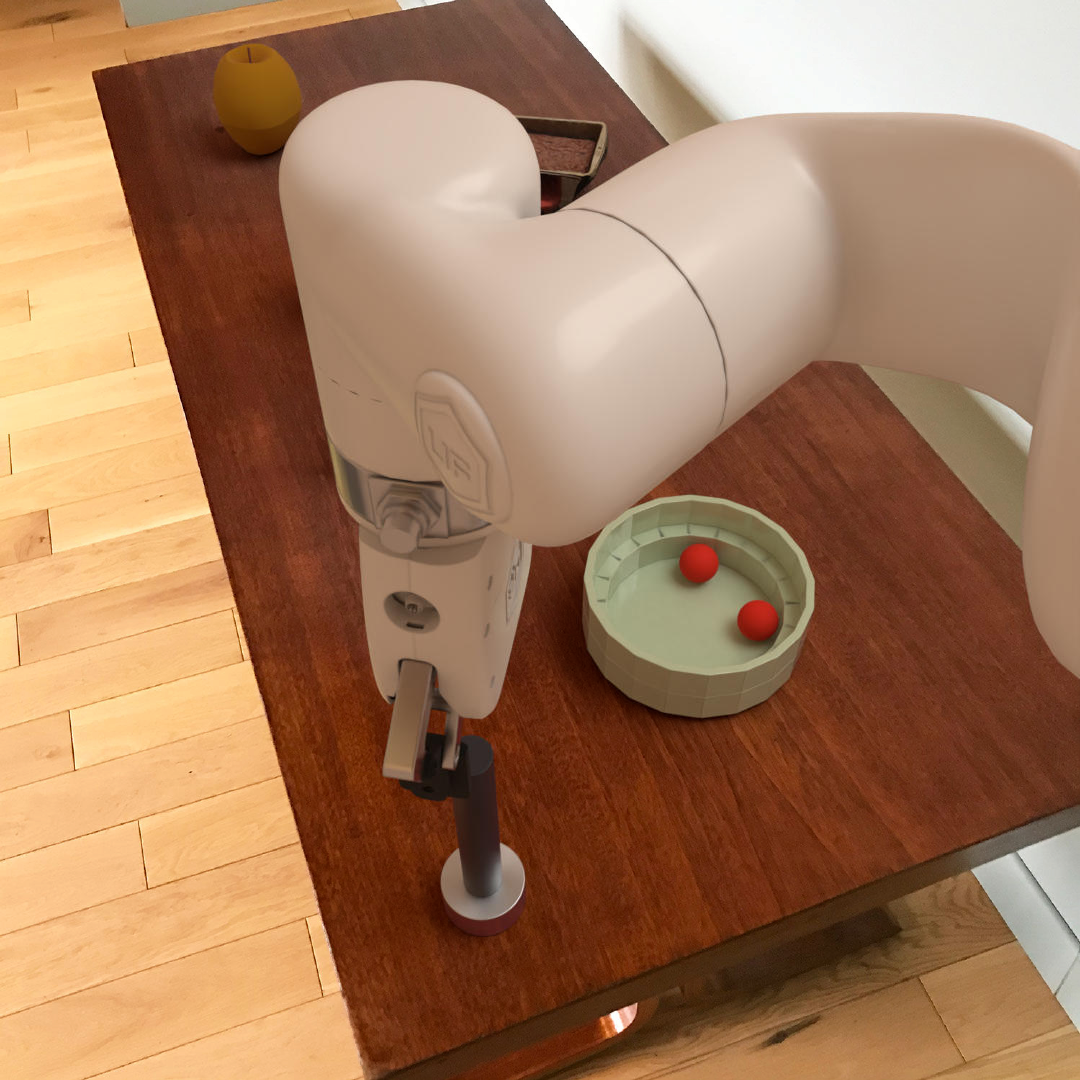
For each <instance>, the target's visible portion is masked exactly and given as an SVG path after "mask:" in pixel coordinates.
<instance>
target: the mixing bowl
mask: <svg viewBox="0 0 1080 1080" xmlns="http://www.w3.org/2000/svg"><path fill="white" fill-rule="evenodd" d="M693 544H705V545H707V546H709V547H711V548H712V549H713V550H714V551H715V553H716V554H717V557H718V560H719V566H718V570H717V572H716V574H715V575H714V577H713V578H711V579H710V580H708V581H706V582H703V583H695V582H692V581H690V580H688V579H687V578H685V577H684V576H683V574H682V573H681V570H680V567H679V560H680V556H681V554H682V552H683V551H684V550H685V549H686V548H687V547H689V546H691V545H693ZM582 585H583V587H582V609H581V610H582V613H581V614H582V615H581V625H582V630H583V635H584V639H585V645H586V650H587V651H588V653H589V654H590V656H591V657H592V659H593V661H594V662H595V664H596V665H597V667H598V669H599V671H600V672H601V674H602V675H603V676H604V678H605V679H606V680H607V681H609V682H610V683H611V684H612V685H614V686H615V687H616V688H617V689H618V690H620V691H621V692H622V693H623V694H624V695H625V696H627V697H628V698H629V699H631V700H633V701H636V702H638V703H640V704H643V705H645V706H647V707H649V708H652V709H654V710H656V711H658V712H661V713H664V714H668V715H669V714H670V715H677V716H683V717H691V718H698V719H705V718H712V717H713V718H714V717H720V716H727V715H736V714H739V713H740V712H743V711H745V710H747V709H749V708H752V707H754V706H756V705H758V704H761V703H763V702H765V701H767V700H769V698H770V697H772V695H773V694H775V693H776V692H777V691H778V690H779V689H780V688H781V687H782V686H783V685H784V684H785V683H786V682H787V681H789V679H790V678H791V675H792V674H793V671H794V670H795V667H796V665H797V662H798V660H799V658H800V656H801V654H802V650H803V647H804V644H805V640H806V637H807V634H808V632H809V628H810V624H811V620H812V618H813V614H814V610H815V593H816V591H815V589H816V588H815V585H816V581H815V577H814V575H813V572H812V570H811V567H810V564H809V562H808V559H807V557H806V555H805V553H804V551H803V550H802V549H801V547H800V546H799V545H798V544H797V543H796V542H795V540H794V539H793V538H792V537H791V535H790V534H789V533H788V532H787V531H786V529H784V528H783V527H782V526H780V525H779V523H777V522H775V521H773V520H772V519H771V518H768V516H766V515H764V514H763V513H761V512H760V511H758V510H756V509H754V508H752V507H748V506H747V505H746V506H745V505H743V504H741V503H737V502H735V501H733V500H729V499H726V498H720V497H713V496H706V495H705V496H704V495H697V494H685V495H674V496H664V497H658V498H654V499H652V500H649V501H647V502H645V503H641V504H639V505H636V506H632V507H630V508H629V509H628V510H627V511H625V512H624V513H623V514H622V515H621V516H619V517H618V518H617V519H616V520H614V521H613V522H611V523H610V524H608V525H607V526H605V527H604V528H602V529H601V532H600V533H599V535H598V536H597V537H596V539H595V540H594V543H592V546H591V547H590V549H589V550H588V553H587V559H586V563H585V569H584V575H583V584H582ZM753 600H762V601H765V602H768V603H769V604H771V605H772V606H773V607H774V608H775V610H776V611H777V614H778V617H779V624H778V628H777V630H776V632H775V633H774V634H773V635H772V636H771V637H770V638H768V639H766V640H763V641H753V640H750V639H748V638H747V637H745V636H744V635H743V634H742V633H741V631H740V630H739V628H738V624H737V616H738V613H739V611H740V609H741V608H742V607H743V606H744V605H745V604H746V603H748V602H750V601H753Z"/></svg>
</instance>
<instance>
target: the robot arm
mask: <svg viewBox="0 0 1080 1080" xmlns="http://www.w3.org/2000/svg"><path fill="white" fill-rule="evenodd" d="M514 115H515V114H513V113H512V112H511V111H510V110H509V109H508V108H507V107H505V106H504V105H502V104H500V103H499V102H497V101H496V100H495V99H492V98H490V97H489V96H487V95H485V94H483V93H480V92H478V91H476V90H474V89H472V88H468V87H464V86H462V85H458V84H453V83H447V82H443V81H432V80H419V79H418V80H417V79H406V80H391V81H383V82H376V83H372V84H368V85H364V86H359V87H357V88H354V89H350V90H348V91H345V92H342V93H340V94H338V95H336V96H334V97H332V98H330V99H328V100H327V101H325V102H323V103H322V104H320V105H319V106H317V107H316V108H315V109H313V110H312V111H310V112H309V113H308V114H307V115H306V116H305V117H304V118H302V119H301V120H300V121H299V122H298V123H297V125H296V127H295V129H294V131H293V132H292V134H291V136H290V138H289V139H288V141H287V143H286V144H285V145H284V148H283V151H282V154H281V159H280V163H279V167H278V169H279V170H278V193H279V194H278V195H279V203H280V208H281V214H282V219H283V223H284V229H285V233H286V239H287V244H288V248H289V253H290V254H289V255H290V259H291V263H292V267H293V273H294V278H295V283H296V287H297V293H298V297H299V304H300V307H301V313H302V316H303V323H304V328H305V332H306V333H305V334H306V337H307V342H308V347H309V354H310V358H311V363H312V369H313V374H314V378H315V384H316V388H317V393H318V398H319V399H318V400H319V405H320V408H321V413H322V418H323V419H322V420H323V425H324V429H325V435H326V440H327V444H328V450H329V454H330V460H331V465H332V471H333V475H334V480H335V485H336V490H337V493H338V496H339V499H340V501H341V503H342V505H343V506H344V508H345V510H346V512H347V513H348V514H349V515H350V516H351V518H353V520H355V522H357V523H358V544H359V545H358V547H359V568H360V582H361V593H362V594H361V595H362V605H363V606H362V607H363V613H364V615H363V616H364V623H365V624H364V626H365V632H366V639H367V646H368V650H369V651H368V652H369V657H370V658H369V659H370V664H371V668H372V672H373V677H374V680H375V683H376V687H377V689H378V691H379V693H380V695H381V697H382V698H383V700H385V702H386V703H387V704H388V705H390V706H392V705H393V709H392V715H391V721H390V727H389V732H388V737H387V741H386V742H387V743H386V749H385V753H384V759H383V763H382V777H383V778H387V779H395V780H398V784H399V787H400V788H401V789H404V790H406V791H410V792H411V794H412V795H413V796H415V797H417V798H419V799H422V800H426V801H433V802H443V801H445V800H447V798H452V797H454V798H460V799H467V798H469V796H470V791H471V787H472V783H471V772H470V761H469V750H468V745H466V744H465V743H464V742H461V737H462V734H463V724H464V719H474V720H477V719H478V720H483V719H485V718H486V717H488V716H489V715H491V714H492V713H493V712H494V710H495V709H496V707H497V705H498V703H499V699H500V696H501V694H502V689H503V686H504V681H505V679H506V678H505V677H506V674H507V670H508V666H509V661H510V657H511V653H512V648H513V645H514V640H515V637H516V631H517V627H518V624H519V620H520V614H521V610H522V607H523V601H524V596H525V592H526V588H527V583H528V578H529V573H530V567H531V561H532V555H533V554H532V553H533V546H536V547H544V548H556V547H564V546H568V545H572V544H574V543H578V542H580V541H582V540H584V539H587V538H589V537H591V536H593V535H594V534H596V533H598V532H599V531H600V530H601V531H602V530H603V529H604V528H605V526H607V525H608V524H610V523H611V522H613V521H614V520H616V519H617V518H618V517H619V516H621V515H622V514H623V513H624V512H625V511H627V510H628V509H630V508H633V507H634V505H635V504H636V503H638V502H639V501H641V499H643V498H644V497H645V496H647V495H648V494H649V493H650V492H651V491H653V490H654V489H655V488H657V487H658V486H659V485H660V484H661V483H663V482H664V481H665V480H666V479H667V478H669V477H670V476H671V475H673V474H674V473H675V472H676V471H677V470H679V469H681V468H682V467H683V466H684V465H685V464H687V462H689V461H690V460H691V459H693V458H694V457H695V456H696V455H698V454H699V453H700V452H701V451H703V450H704V449H705V447H706V446H708V445H709V444H710V443H712V442H713V441H714V440H715V439H717V438H718V437H720V436H721V435H722V434H723V433H724V432H725V431H727V430H728V429H729V428H731V427H732V426H733V425H734V424H736V423H737V422H738V421H740V420H741V418H743V417H744V416H745V415H747V414H748V413H749V412H750V411H752V410H753V409H754V408H755V407H756V406H757V405H759V404H760V403H761V402H763V401H764V400H765V399H766V398H768V397H769V396H770V395H772V393H774V392H775V391H777V390H778V389H779V388H780V387H781V386H782V385H784V384H785V383H786V382H788V381H789V380H790V379H792V378H793V377H794V376H795V375H796V374H798V373H799V372H801V371H802V370H803V369H804V368H806V367H807V366H809V365H810V364H811V363H812V362H839V363H847V364H855V365H861V366H869V367H874V368H880V369H884V370H885V369H886V370H892V371H897V372H904V373H909V374H913V375H920V376H924V377H929V378H934V379H938V380H941V381H944V382H945V381H946V382H949V383H953V384H956V385H960V386H962V387H965V388H968V389H970V390H972V391H975V392H978V393H981V394H983V395H986V396H988V397H989V398H991V399H993V400H994V401H996V402H998V403H1000V404H1002V405H1003V406H1005V407H1007V408H1008V409H1011V410H1012V411H1013V412H1014V413H1015V414H1017V415H1018V416H1019V417H1020V418H1021V419H1023V420H1024V421H1025V422H1026V423H1028V425H1030V426H1031V427H1032V429H1031V435H1030V441H1029V449H1028V455H1027V461H1026V473H1025V482H1024V495H1023V504H1022V505H1023V507H1022V516H1021V557H1022V559H1021V560H1022V568H1023V575H1024V581H1025V587H1026V592H1027V596H1028V602H1029V606H1030V611H1031V615H1032V617H1033V621H1034V624H1035V626H1036V629H1037V631H1038V632H1039V634H1040V636H1041V637H1042V639H1043V641H1044V642H1045V644H1046V645H1047V647H1048V648H1049V650H1050V652H1051V653H1052V655H1053V657H1054V658H1055V659H1056V660H1057V662H1058V663H1059V664H1060V665H1062V666H1063V667H1064V668H1065V669H1066V670H1067V671H1069V672H1070V673H1071V674H1073V675H1074V676H1075V677H1076V678H1077V679H1079V680H1080V149H1078V148H1076V147H1073V146H1072V145H1071V144H1070V145H1069V144H1068V143H1065V142H1063V141H1061V140H1059V139H1057V138H1054V137H1051V136H1049V135H1047V134H1045V133H1043V132H1041V131H1040V132H1039V131H1036V130H1034V129H1031V128H1027V127H1025V126H1022V125H1019V124H1016V123H1012V122H1007V121H1003V120H998V119H994V118H989V117H984V116H983V117H982V116H973V115H965V114H959V113H958V114H957V113H941V112H939V113H938V112H916V111H915V112H913V111H912V112H911V111H910V112H908V111H888V112H887V111H886V112H885V111H883V112H882V111H881V112H879V111H878V112H877V111H875V112H871V111H870V112H869V111H868V112H867V111H864V112H863V111H857V112H852V111H849V112H842V111H841V112H834V111H833V112H829V111H828V112H789V113H774V114H763V115H756V116H749V117H744V118H739V119H734V120H733V119H732V120H729V121H725V122H722V123H721V122H720V123H718V124H714V125H711V126H709V127H707V128H704V129H702V130H699V131H696V132H694V133H691V134H689V135H685V136H684V137H682V138H680V139H677V140H676V141H674V142H672V143H671V144H668V145H667V146H665V147H663V148H661V149H659V150H657V151H655V152H654V153H652V154H650V155H649V156H646V157H644V158H643V159H641V160H640V161H638V162H636V163H634V164H633V165H631V166H628V168H626V169H624V170H622V171H621V172H619V173H618V174H616V175H614V176H612V177H611V178H610V179H608V180H606V181H605V182H603V183H602V184H600V185H598V186H597V187H595V188H594V189H591V190H590V191H588V192H587V193H585V194H583V195H582V196H580V197H578V198H577V199H575V200H574V201H572V203H570V204H569V205H567V206H565V207H564V208H562V209H560V210H559V211H557V212H555V213H552V214H547V215H542V216H541V182H540V169H539V164H538V160H537V156H536V153H535V149H534V146H533V144H532V142H531V139H530V137H529V135H528V134H527V132H526V130H525V129H524V127H523V126H522V125H521V123H520V122H519V121H518V120H517V118H516V117H515V116H514ZM436 682H437V683H438V684H437V685H438V686H437V687H436ZM431 710H432V711H438V712H445V713H446V716H445V725H444V734H440V733H435V732H428V728H429V722H430V717H431Z"/></svg>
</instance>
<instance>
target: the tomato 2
mask: <svg viewBox="0 0 1080 1080" xmlns="http://www.w3.org/2000/svg"><path fill="white" fill-rule="evenodd" d="M737 624H738V628H739V630H740V631H741V633H742V634H743V635H744V636H745V637H747V638H748V639H750V640H753V641H763V640H766V639H768V638H770V637H771V636H772V635H773V634H774V633H775V632H776V630H777V628H778V624H779V617H778V614H777V611H776V610H775V608H774V607H773V606H772V605H771V604H769V603H768V602H765V601H762V600H753V601H750V602H748V603H746V604H745V605H744V606H743V607H742V608H741V609H740V611H739V613H738V616H737Z"/></svg>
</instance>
